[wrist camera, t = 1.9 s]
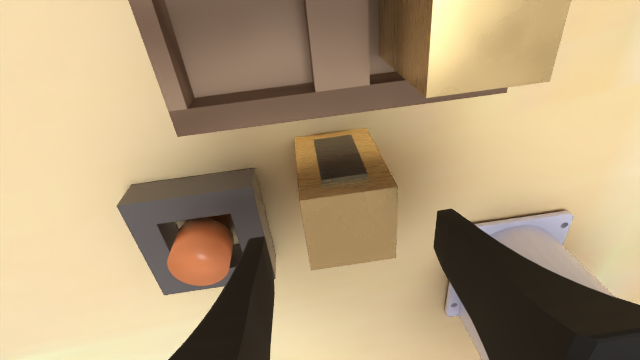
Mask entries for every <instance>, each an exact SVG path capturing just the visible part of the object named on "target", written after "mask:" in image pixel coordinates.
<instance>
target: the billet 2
mask: <svg viewBox="0 0 640 360" xmlns="http://www.w3.org/2000/svg"><path fill="white" fill-rule="evenodd" d="M570 3H571V0H379V56H380V57H381V58H382V59H383V60H384V61H385V62H386V63H387V64H388V65H390V66H391V67H392V68H393V69H394V70H395V71H396V72H397V73H399V74H400V75H401V76H402V77H403V78H404V79H405V80H406V81H408V82H409V83H410V84H411V85H412V86H413V87H414V88H415V89H417V90H418V91H419V92H420V93H421V94H422V95H423V96H424V97H426V98H431V97H438V96H446V95H453V94H460V93H468V92H475V91H483V90H490V89H498V88H505V87H513V86H520V85H528V84H535V83H543V82H550V78H551V74H552V71H553V67H554V63H555V59H556V56H557V52H558V48H559V44H560V40H561V37H562V33H563V29H564V25H565V22H566V18H567V14H568V10H569V6H570Z"/></svg>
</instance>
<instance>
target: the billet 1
mask: <svg viewBox="0 0 640 360" xmlns="http://www.w3.org/2000/svg"><path fill="white" fill-rule="evenodd" d="M295 151H296V163H297V176H298V188H299V201H300V207H301V213H302V219H303V225H304V231H305V237H306V243H307V249H308V255H309V261H310V267H311V270H316V269H323V268H330V267H336V266H343V265H350V264H357V263H364V262H371V261H377V260H384V259H391V258H396V233H397V195H398V187H397V185H396V183H395V181H394V179H393V177H392V175H391V174H390V172H389V170H388V168H387V166H386V164H385V162H384V160H383V159H382V157H381V155H380V153H379V151H378V149H377V147H376V145H375V144H374V142H373V140H372V138H371V136H370V134H369V132H368V130H367V129H366V128H363V129H355V130H348V131H340V132H333V133H326V134H318V135H311V136H304V137H296V138H295Z"/></svg>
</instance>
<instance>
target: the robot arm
mask: <svg viewBox="0 0 640 360" xmlns="http://www.w3.org/2000/svg"><path fill="white" fill-rule="evenodd" d="M572 220H573V215H572V214H571V213H570V212H568V211H561V212H554V213H547V214H540V215H534V216H527V217H520V218H513V219H506V220H499V221H492V222H485V223H479V224H473V223H471V222H470V221H469V220H467V219H466V218H464V217H463V216H462V215H460V214H459V213H457V212H456V211H454V210H453V209H447V210H440V211H437V220H436V229H435V238H434V250H435V252H436V255H437V257H438V260H439V262H440V264H441V267H442V269H443V271H444V273H445V274H446V276H447V278H448V280H449V287H448V293H447V300H446V306H445V313H446V315H447V316H450V317H452V316H460V318H461V320H462V322H463V324H464V326H465V328H466V330H467V332H468V334H469V336H470V338H471V340H472V342H473V344H474V346H475V347H476V349H477V351H478V353H479V355H480V357H481V359H482V360H640V305H638V304H635V303H632V302H628V301H625V300H622V299H619V298H616V297H614V296H613V295H612V294H611V293H610V292H609V291H608V290H607V289H606V288H605V287H604V286H603V285H602V284H601V283H600V282H599V281H598V280H597V279H596V278H595V277H594V276H593V275H592V274H591V273H590V272H589V271H588V270H587V269H586V268H585V267H584V266H583V265H582V264H581V263H580V262H579V261H578V260H577V259H576V258H575V257H574V256H573V255H572V254H571V253H570V252H569V251H568V250H567V249H566V248H565V247H564V246H563V243H564V240H565V238H566V235H567V233H568V230H569V227H570V225H571V222H572ZM273 307H274V271H273V267H272V263H271V259H270V255H269V251H268V247H267V243H266V239H265V236H263V237H256V238H250V239H249V240H248V242H247V244H246V246H245V249H244V251H243V253H242V255H241V257H240V259H239V262H238V264H237V266H236V267H235V269H234V271H233V273H232V275H231V277H230V279H229V280H228V282H227V284H226V286H225V287H224V289H223V290H222V292H221V294H220V295H219V297H218V299H217V300H216V302H215V303H214V305H213V306H212V308H211V309H210V310H209V312H208V313H207V315H206V316H205V317H204V319H203V320H202V321H201V323H200V324H199V325H198V326H197V328H196V329H195V330H194V331H193V333H192V334H191V335H190V336H189V338H188V339H187V340H186V341H185V342H184V343H183V344H182V346H181V347H180V348H179V349H178V350H177V351H176V352H175V353H174V354H173V355H172V356H171V357H170V358H169V359H168V360H270V345H271V333H272V320H273Z"/></svg>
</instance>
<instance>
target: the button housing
mask: <svg viewBox="0 0 640 360" xmlns="http://www.w3.org/2000/svg"><path fill="white" fill-rule="evenodd" d="M117 207H118V209H119V211H120V213H121V215H122V217H123V219H124V221H125V223H126V224H127V226H128V228H129V230H130V232H131V234H132V236H133V238H134V239H135V241H136V243H137V245H138V247H139V249H140V251H141V253H142V254H143V256H144V258H145V260H146V262H147V264H148V266H149V268H150V270H151V271H152V273H153V275H154V277H155V279H156V281H157V283H158V285H159V286H160V288H161V290H162V292H163V294H164V295H168V294H175V293H182V292H189V291H195V290H202V289H209V288H216V287H222V286H226V284H227V282H228V280H229V279H230V277H231V275H232V273H233V271H234V269H235V267H236V266H237V264H238V262H239V259H240V257H241V255H242V253H243V251H244V249H245V246H246V244H247V242H248V240H249V239H250V238H256V237H263V236H265V239H266V243H267V247H268V251H269V255H270V259H271V263H272V267H273V271H274V279H275V271H276V255H275V251H274V247H273V242H272V238H271V234H270V230H269V226H268V221H267V217H266V213H265V209H264V205H263V201H262V196H261V192H260V188H259V184H258V180H257V175H256V171H255V168H250V169H243V170H235V171H228V172H221V173H214V174H206V175H199V176H192V177H185V178H177V179H170V180H163V181H156V182H148V183H141V184H134V185H131V186H130V187H129V189H128V190H127V192H126V193H125V195H124V196H123V197H122V199H121V200H120V202H119V203H118V205H117ZM225 214H231V217H232V220H233V223H234V227H235V230H236V233H237V236H238V240H239V243H240V244H238V245H233V250H232V256H231V261H230V267H229V271H228V273H227V275H226V276H225V277H224V278H223V279H222V280H221V281H219V282H217V283H215V284H212V285H207V286H195V285H190V284H186V283H184V282H182V281H180V280H178V279H177V278H175V277H174V276H173V275H172V274H171V273H170V271H169V269H168V266H167V260H168V256H169V254H170V251H171V249H172V246H173V244H174V241H175V238H176V236H177V233H178V231H179V229H178V227H177V225H176V222H175V221H182V220H189V219H196V218H203V217H210V216H217V215H225Z"/></svg>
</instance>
